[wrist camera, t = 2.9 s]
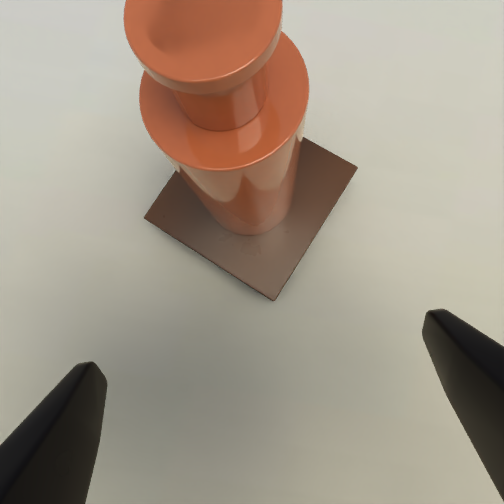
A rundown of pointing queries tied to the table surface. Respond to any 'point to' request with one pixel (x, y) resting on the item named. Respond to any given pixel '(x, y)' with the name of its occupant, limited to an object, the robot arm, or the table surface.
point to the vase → (223, 102)
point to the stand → (265, 244)
